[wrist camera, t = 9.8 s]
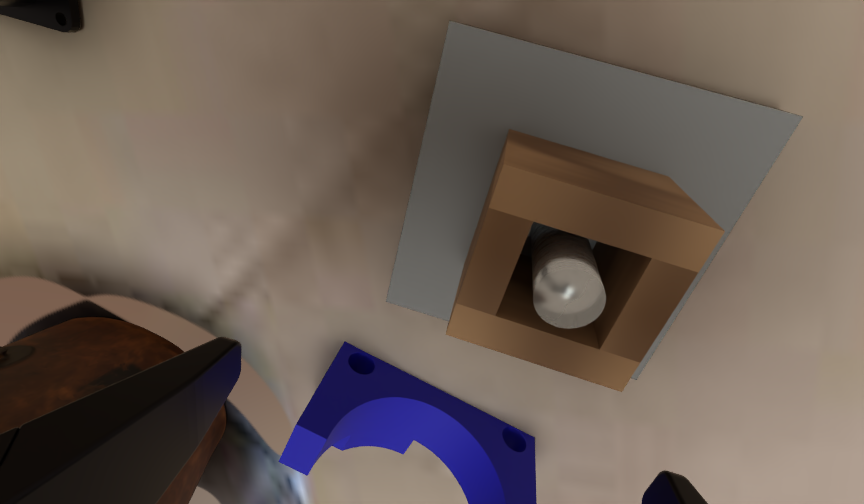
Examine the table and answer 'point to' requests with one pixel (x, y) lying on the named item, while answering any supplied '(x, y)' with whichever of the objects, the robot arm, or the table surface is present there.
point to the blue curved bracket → (413, 428)
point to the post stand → (574, 127)
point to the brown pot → (90, 379)
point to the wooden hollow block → (614, 254)
